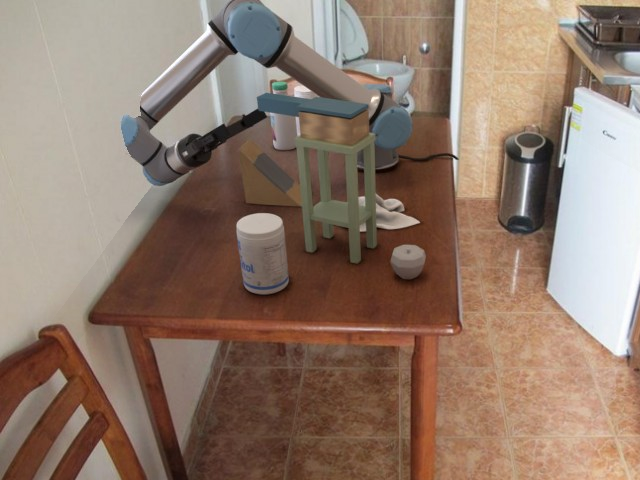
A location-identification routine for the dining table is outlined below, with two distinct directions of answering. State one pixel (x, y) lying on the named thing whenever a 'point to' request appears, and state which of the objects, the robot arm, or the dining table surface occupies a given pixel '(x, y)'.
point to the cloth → (389, 214)
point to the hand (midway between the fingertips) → (245, 120)
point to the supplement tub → (262, 253)
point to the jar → (302, 93)
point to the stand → (335, 210)
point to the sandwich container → (266, 179)
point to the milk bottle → (283, 123)
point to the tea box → (334, 127)
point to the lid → (308, 105)
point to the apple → (408, 261)
